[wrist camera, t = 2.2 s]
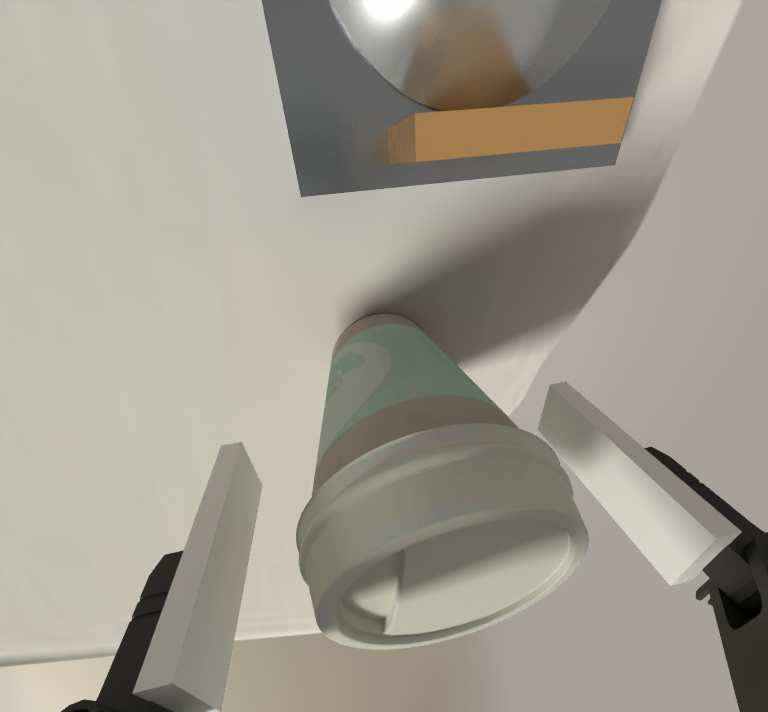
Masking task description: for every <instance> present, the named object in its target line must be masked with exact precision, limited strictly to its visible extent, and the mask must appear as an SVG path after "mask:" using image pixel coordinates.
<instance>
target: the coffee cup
mask: <svg viewBox="0 0 768 712" xmlns="http://www.w3.org/2000/svg"><path fill="white" fill-rule="evenodd" d="M588 539H589V538H588V532H587V529H586V527H585V525H584V522H583V520H582V518H581V516H580V513H579V511H578V509H577V507H576V504H575V502H574V500H573V491H572V486H571V482H570V479H569V477H568V475H567V474H566V472H565V470H564V469H563V468H562V467H561V466H560V462H559V460H558V458H557V456H556V454H555V452H554V451H553V450H552V448H551V447H550V446H549V445H548V444H547V443H546V442H544V441H543V440H542V439H540V438H539V437H537V436H535V435H533V434H531V433H529V432H527V431H524V430H521V429H519V428H518V427H517V426H516V425H515V424H514V423H513V422H512V421H511V420H510V419H509V418H508V417H507V415H506V414H505V413H504V412H503V411H502V410H501V409H500V408H499V407H498V406H497V405H496V404H495V403H494V402H493V401H492V400H491V399H490V398H489V397H488V396H487V395H486V394H485V393H484V392H483V391H482V390H481V389H480V388H479V387H478V386H477V385H476V384H475V383H474V382H473V381H472V380H471V379H470V378H469V377H468V376H467V375H466V374H465V373H464V372H463V371H462V370H461V369H460V368H459V367H458V366H457V365H456V364H455V363H454V362H453V361H452V360H451V359H450V358H449V357H448V356H447V355H446V354H445V353H444V352H443V351H442V350H441V349H440V348H439V347H438V346H437V345H436V344H435V343H434V342H433V341H432V340H431V339H430V338H429V337H428V336H427V335H426V334H425V333H424V332H423V331H422V330H421V329H420V328H419V327H418V326H417V325H416V324H415V323H414V322H412V321H411V320H409V319H407V318H405V317H403V316H400V315H395V314H375V315H371V316H367V317H364V318H362V319H360V320H358V321H356V322H355V323H353V324H352V325H350V326H349V327H348V328H347V329H346V330H345V331H344V332H343V333H342V334H341V335H340V337H339V338H338V340H337V342H336V344H335V347H334V350H333V354H332V361H331V367H330V374H329V380H328V387H327V394H326V401H325V408H324V415H323V422H322V429H321V436H320V443H319V450H318V457H317V463H316V470H315V477H314V485H313V492H312V498H311V499H310V501H309V502H308V503H307V505H306V507H305V508H304V510H303V512H302V514H301V517H300V519H299V522H298V526H297V532H296V542H297V548H298V551H299V567H300V571H301V575H302V577H303V579H304V581H305V582H306V584H307V585H308V586H309V590H310V594H311V599H312V603H313V608H314V612H315V617H316V621H317V625H318V627H319V629H320V630H321V631H322V632H323V633H324V634H325V635H326V636H327V637H328V638H329V639H332V640H333V641H335V642H337V643H340V644H343V645H346V646H349V647H355V648H361V649H375V650H383V649H401V648H409V647H416V646H423V645H428V644H432V643H437V642H441V641H445V640H449V639H453V638H456V637H460V636H463V635H466V634H469V633H472V632H475V631H478V630H480V629H483V628H485V627H488V626H490V625H493V624H496V623H498V622H500V621H502V620H504V619H506V618H509V617H510V616H513V615H515V614H517V613H518V612H520V611H522V610H524V609H526V608H528V607H530V606H531V605H533V604H534V603H536V602H537V601H539V600H541V599H542V598H544V597H545V596H547V595H548V594H549V593H551V592H552V591H553V590H554V589H556V588H557V587H558V586H560V585H561V584H562V583H563V582H564V581H565V580H566V579H567V578H568V577H569V576H570V575H571V574H572V573H573V572H574V571H575V570H576V568H577V567H578V566H579V564H580V563H581V561H582V560H583V558H584V556H585V554H586V551H587V548H588V541H589V540H588Z"/></svg>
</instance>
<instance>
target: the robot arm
mask: <svg viewBox="0 0 768 712" xmlns="http://www.w3.org/2000/svg"><path fill="white" fill-rule="evenodd" d="M538 430H539V431H540V432H541V434H542V435H543V436H544V437H545V438H546V439H547V441H548V442H549V443H550V444H551V445H552V446H553V448H554V449H555V450H556V451H557V452H558V453H559V455H560V456H561V457H562V458H563V459H564V461H565V462H566V463H567V464H568V465H569V467H570V468H571V469H572V470H573V471H574V473H576V475H577V476H578V477H579V478H580V480H581V481H582V482H583V483H584V484H585V486H586V487H587V488H588V489H589V490H590V491H591V493H592V494H593V495H594V496H595V497H596V499H597V500H598V501H599V502H600V503H601V504H602V506H603V507H604V508H605V509H606V510H607V512H608V513H609V514H610V515H611V516H612V517H613V518H614V520H615V521H616V522H617V523H618V524H619V525H620V527H621V528H622V529H623V530H624V531H625V533H626V534H627V535H628V536H629V538H630V539H631V540H632V541H633V542H634V543H635V544H636V545H637V547H638V548H639V549H640V550H641V552H642V553H643V554H644V555H645V556H646V558H647V559H648V560H649V561H650V562H651V563H652V565H653V566H654V567H655V568H656V569H657V571H658V572H659V573H660V574H661V575H662V576H663V578H664V579H665V580H666V581H667V582H668V584H669V585H670V586H671V585H676V584H679V583H683V582H686V581H690V580H692V579H693V578H695V577H696V576H697V575H698V574H699V573H700V572H701V571H702V570H703V571H704V572H705V573H706V575H707V576H709V578H710V579H709V580H708V581H706V582H705V583H704V584H703V585H702V586H701V587H700V588H699V589H698V590H697V591H696V599H698V600H702V599H703V598H704V597H706V595H708V594H709V593H710V597H711V598H710V600H709V601H708V604H710V605H712V606H713V609H714V613H715V617H716V620H717V624H718V628H719V632H720V636H721V640H722V644H723V648H724V651H725V656H726V660H727V663H728V667H729V671H730V675H731V679H732V683H733V687H734V691H735V695H736V699H737V703H738V706H739V710H740V712H768V532H767V533H765V532H763V531H762V530H760V529H759V528H758V527H756V526H755V525H753V524H752V523H751V522H749V521H748V520H747V519H746V518H745V517H743V516H742V515H741V514H740V513H739V512H737V511H736V510H735V509H734V508H732V507H731V506H730V505H729V504H728V503H726V502H725V501H724V500H723V499H721V498H720V497H719V496H718V495H716V494H715V493H714V492H713V491H711V490H710V489H709V488H708V487H706V486H705V485H704V484H703V483H700V482H699V480H698V479H697V478H696V477H694V476H693V475H692V474H691V473H688V472H686V469H684V468H683V467H682V466H681V465H680V464H678V463H677V462H676V461H675V460H673V459H672V458H671V457H670V456H668V455H666V454H664V453H662V452H660V451H658V450H657V449H655V448H653V447H648V448H643V447H642V446H641V445H640V444H638V443H637V442H636V441H635V440H634V439H633V438H631V437H630V436H629V435H628V434H626V432H624V431H623V430H622V429H621V428H620V427H618V426H617V425H616V424H615V423H614V422H613V421H611V420H610V419H609V418H608V417H607V416H606V415H604V414H603V413H602V412H601V411H600V410H599V409H597V408H596V407H595V406H594V405H593V404H592V403H590V402H589V401H588V400H587V399H586V398H585V397H583V396H582V395H581V394H580V393H579V392H577V391H576V390H575V389H574V388H572V386H570V385H569V384H568V383H567V382H561V383H556V384H551V385H550V387H549V390H548V393H547V397H546V401H545V405H544V409H543V412H542V416H541V420H540V423H539V427H538ZM261 490H262V484H261V482H260V479H259V477H258V475H257V473H256V471H255V469H254V467H253V465H252V463H251V461H250V458H249V456H248V454H247V452H246V450H245V448H244V446H243V444H242V442H239V443H234V444H228V445H223V446H221V448H220V451H219V454H218V456H217V459H216V462H215V465H214V468H213V470H212V473H211V476H210V479H209V482H208V484H207V487H206V490H205V493H204V496H203V498H202V501H201V504H200V507H199V509H198V512H197V515H196V518H195V521H194V523H193V526H192V529H191V532H190V535H189V537H188V540H187V543H186V546H185V548H184V551H180V552H175V553H171V554H166V555H164V556H163V558H162V559H161V560H160V562H159V563H158V564H157V566H156V567H155V569H154V570H153V571H152V573H151V574H150V575H149V578H148V580H147V582H146V585H145V587H144V589H143V592H142V594H141V597H140V602H138V604H137V606H136V608H135V611H134V613H133V616H132V621H131V622H130V623H129V625H128V627H127V630H126V632H125V635H124V637H123V639H122V642H121V644H120V646H119V649H118V651H117V653H116V656H115V658H114V661H113V663H112V665H111V668H110V670H109V672H108V675H107V677H106V680H105V682H104V684H103V687H102V689H101V691H100V694H99V696H98V698H97V700H96V701H91V700H85V699H84V700H82V701H79V702H77V703H74V704H71V705H69V706H68V707H66V708H65V709H64V710H62V711H61V712H221V708H222V703H223V697H224V692H225V687H226V681H227V676H228V670H229V665H230V659H231V654H232V648H233V643H234V637H235V632H236V626H237V621H238V615H239V610H240V605H241V599H242V594H243V588H244V583H245V577H246V572H247V566H248V561H249V555H250V550H251V544H252V539H253V533H254V528H255V522H256V517H257V512H258V506H259V501H260V495H261Z"/></svg>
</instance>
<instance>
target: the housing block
mask: <svg viewBox="0 0 768 712" xmlns="http://www.w3.org/2000/svg"><path fill="white" fill-rule="evenodd" d="M661 1H662V0H262V4H263V9H264V14H265V19H266V24H267V29H268V34H269V39H270V44H271V49H272V54H273V59H274V64H275V69H276V74H277V79H278V84H279V89H280V94H281V99H282V104H283V109H284V114H285V119H286V124H287V129H288V134H289V139H290V144H291V149H292V154H293V159H294V164H295V169H296V174H297V179H298V184H299V189H300V194H301V197H305V196H315V195H325V194H335V193H345V192H354V191H364V190H374V189H384V188H394V187H404V186H413V185H423V184H433V183H443V182H453V181H462V180H472V179H482V178H492V177H502V176H511V175H521V174H531V173H541V172H551V171H560V170H570V169H580V168H590V167H600V166H610V165H615V163H616V160H617V156H618V153H619V149H620V146H621V142H622V139H623V135H624V131H625V128H626V124H627V121H628V117H629V114H630V110H631V107H632V103H633V100H634V96H635V93H636V89H637V85H638V82H639V78H640V75H641V71H642V68H643V64H644V61H645V57H646V54H647V50H648V47H649V43H650V39H651V36H652V32H653V29H654V25H655V22H656V18H657V15H658V11H659V8H660V4H661Z"/></svg>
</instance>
